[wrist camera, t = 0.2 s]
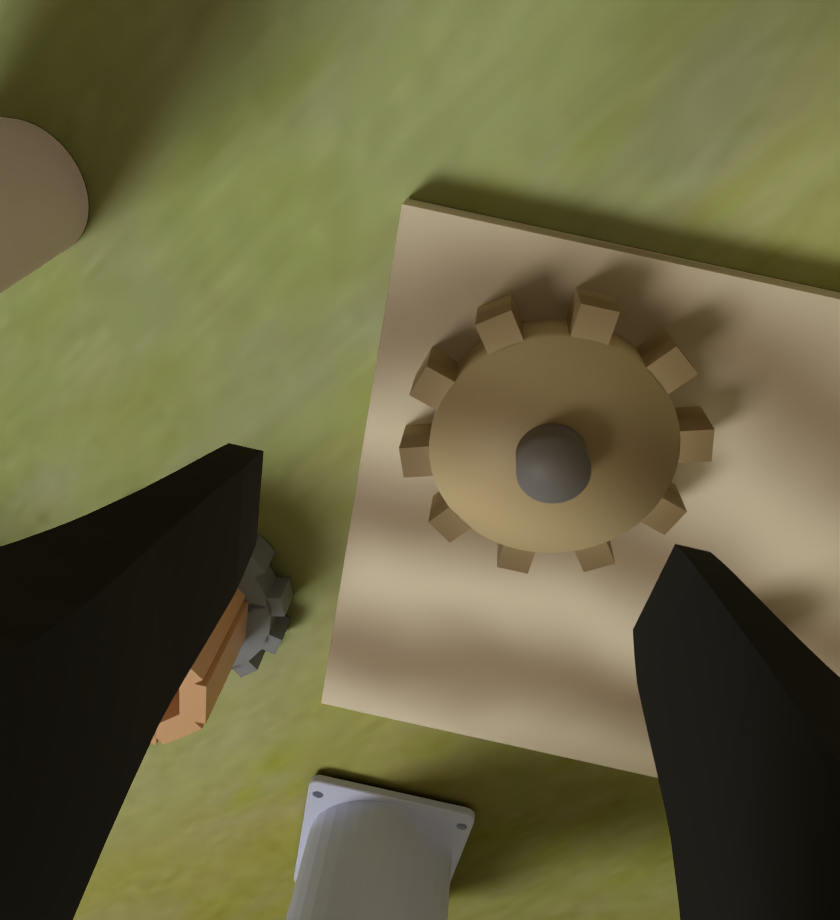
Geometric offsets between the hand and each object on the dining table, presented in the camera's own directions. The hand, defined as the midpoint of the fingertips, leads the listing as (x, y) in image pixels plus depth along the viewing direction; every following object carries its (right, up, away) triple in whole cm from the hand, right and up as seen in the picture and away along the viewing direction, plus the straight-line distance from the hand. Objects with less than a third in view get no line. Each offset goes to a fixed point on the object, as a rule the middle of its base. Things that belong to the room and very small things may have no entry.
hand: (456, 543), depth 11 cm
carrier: (+7, -2, +12) cm, 14 cm away
